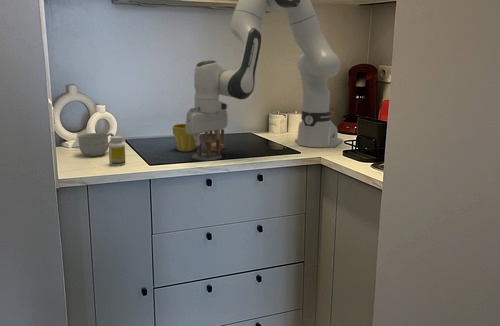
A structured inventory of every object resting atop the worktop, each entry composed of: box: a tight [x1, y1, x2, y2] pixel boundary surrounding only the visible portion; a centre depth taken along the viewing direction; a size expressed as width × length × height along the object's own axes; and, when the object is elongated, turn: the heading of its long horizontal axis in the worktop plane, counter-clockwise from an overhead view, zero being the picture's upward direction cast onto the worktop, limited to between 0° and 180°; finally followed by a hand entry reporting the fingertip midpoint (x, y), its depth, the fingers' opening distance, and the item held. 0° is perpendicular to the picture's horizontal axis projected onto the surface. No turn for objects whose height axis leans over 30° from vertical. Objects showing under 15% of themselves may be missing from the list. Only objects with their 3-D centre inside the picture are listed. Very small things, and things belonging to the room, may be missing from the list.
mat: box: [191, 152, 223, 162], centre depth 187 cm, size 11×11×1 cm
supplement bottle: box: [108, 135, 126, 167], centre depth 174 cm, size 5×5×10 cm
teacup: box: [77, 132, 115, 157], centre depth 189 cm, size 14×11×8 cm
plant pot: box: [172, 123, 197, 152], centre depth 199 cm, size 10×10×10 cm
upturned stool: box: [204, 128, 225, 152], centre depth 201 cm, size 6×6×8 cm
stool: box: [196, 132, 221, 158], centre depth 187 cm, size 6×6×8 cm
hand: (207, 143), depth 186 cm, fingers open, 8 cm apart
